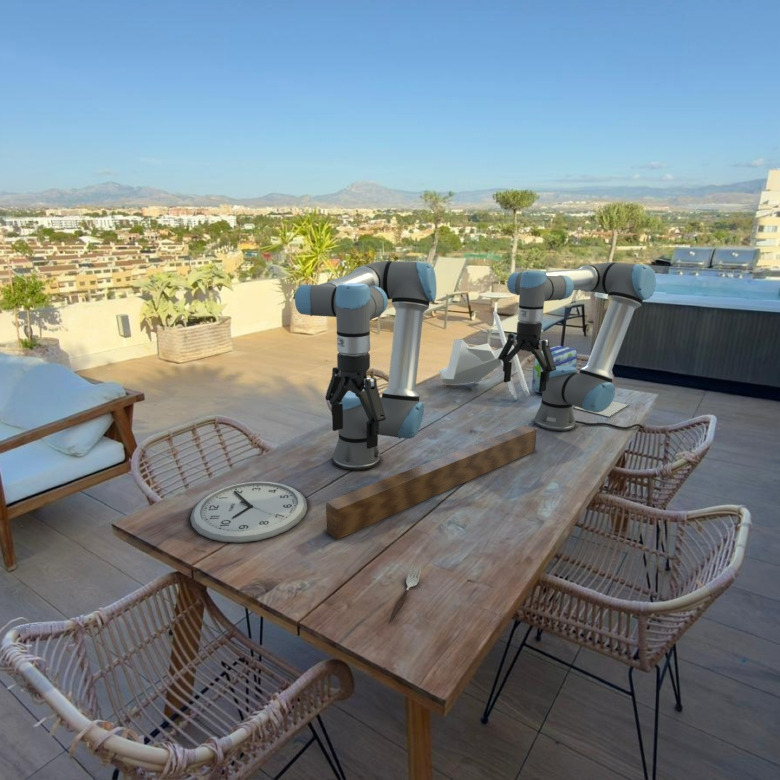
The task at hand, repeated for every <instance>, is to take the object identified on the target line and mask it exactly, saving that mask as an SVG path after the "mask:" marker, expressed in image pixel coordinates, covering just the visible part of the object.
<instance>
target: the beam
mask: <svg viewBox="0 0 780 780" xmlns="http://www.w3.org/2000/svg"><path fill="white" fill-rule="evenodd" d="M537 435H538V427H537V428H536V427H534V426H531V425H527V424H524V425H522V426H519V427H517V428H514V429H510V430H508V431H506V432H503V433H501V434H498V435H495V436H493V437H491V438H488V439H485V440H483V441H480V442H478V443H475V444H472V445H470V446H468V447H465V448H462V449H460V450H457V451H454V452H452V453H448V454H446V455H444V456H441V457H438V458H436V459H434V460H431V461H427V462H426V463H423V464H421V465H418V466H416V467H413V468H410V469H408V470H405V471H402V472H400V473H397V474H395V475H392V476H389V477H387V478H384V479H382V480H379V481H376V482H374V483H372V484H369V485H366V486H363V487H361V488H358V489H356V490H353V491H350V492H348V493H345V494H342V495H340V496H338V497H335V498H333V499H330V500H327V501H325V510H326V511H325V512H326V515H325V516H326V532H327V533H328V534H330V535H331V536H332V537H334V538H335V539H336V540H340V539H341V538H344V537H346V536H348V535H352V534H353V533H355V532H357V531H360V530H362V529H364V528H367V527H368V526H371V525H373V524H375V523H378V522H380V521H383V520H384V519H387V518H389V517H391V516H393V515H396V514H397V513H400V512H402V511H404V510H407V509H409V508H412V507H413V506H416V505H418V504H420V503H422V502H424V501H427V500H429V499H431V498H434V497H436V496H439V495H441V494H442V493H445V492H447V491H449V490H451V489H454V488H456V487H459V486H460V485H462V484H465V483H466V482H467V483H468V482H469V481H471V480H473V479H476V478H478V477H481V476H482V475H485V474H487V473H489V472H491V471H494V470H496V469H499V468H500V467H503V466H505V465H507V464H509V463H511V462H514V461H516V460H518V459H520V458H523V457H525V456H527V455H529V454H531V453H534V452H535V451H536V444H537Z"/></svg>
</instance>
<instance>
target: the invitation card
mask: <svg viewBox="0 0 780 780" xmlns="http://www.w3.org/2000/svg"><path fill="white" fill-rule="evenodd" d="M628 406H629V404H627V403H623V402H618V401H614V400H613V401H612V403H611V404H610V405H609V406H608V407H607V408H606V409H604V410H603V411H601V412H592V411H587V410H584V409H582V408H579V407H577V406H574V407H573V409H575V410H581V411H584V412H587V413H593V414H596V415H600V416H604V417H608V418H609V417H611V416H613V415H614V414H616V413H617V412H619V411H621V410H623V409H624V408H626V407H628Z"/></svg>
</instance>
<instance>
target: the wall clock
mask: <svg viewBox="0 0 780 780" xmlns="http://www.w3.org/2000/svg"><path fill="white" fill-rule="evenodd" d="M307 503H308V502H307V499H306V498H305V496H304V495H303V493H301V492H300V491H298V490H297V489H295V488H294V487H291V486H289V485H286V484H283V483H280V482H279V483H278V482H272V481H249V482H248V481H247V482H242V483H238V484H232V485H229V486H226V487H223V488H220V489H218V490H216V491H213V492H211V493H210V494H208V495H207V496H205V497H204V498H202V499H201V500H200V501H199V502H198V503H197V504H196V505H195V507H194V508H193V509H192V511H191V515H190V523H191V526H192V528H193V529H194V531H196V532H197V533H198V534H199V535H201V536H203V537H205V538H208V539H210V540H214V541H218V542H222V543H239V544H240V543H249V542H256V541H262V540H265V539H269V538H274V537H276V536H278V535H280V534H282V533H286V532H287V531H289V530H290V529H292V528H293V527H295V526H296V525H298V524H299V523H300V522H301V521H302V519H303V518H304V517H305V516H306V513H307V510H308V504H307Z"/></svg>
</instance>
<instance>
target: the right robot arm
mask: <svg viewBox="0 0 780 780" xmlns="http://www.w3.org/2000/svg"><path fill="white" fill-rule="evenodd" d="M507 278H508V279H507V281H506V283H507V284H506V287H507V291H508V292H509V293H510V294H513V295H516V296H519V299H518V312H517V320H518V321H517V323H516V333H517V334H516V333H515V332H513V333H508V334H507V339H506V340H507V342H506V344H505V346H504V348H503V347H502V348H503V350H502V351H501V353H500V355H499V357H498V358H499V360H502V361H503V367H502V372H503V373H504V374H503V383H507V382H509V381H511V378H512V368H513V367H512V366H513V362H512V361H511V360H513V359H512V358H513V357H514V356H515V355H516V354H517V355H518V354H519V352H520V351H525V352H529V353H530V352H531V354H532V355H534V358H535V357H536V359H537V361H538V363H539V364H540V366H541V368H542V370H543V371H542V372H541V374H540V385H539V392H542V393H541V402H540V405H539V407H538V410H537V411H536V413H535V416H534V424H535V425H536V426H537V427H539V428H542V429H544V430H549V431H556V432H567V431H572V430H574V429H575V428H576V424H580V425H585V426H608V427H612V428H616V429H619V430H629V429H632V428H635V427H639V428H641V429H644V428H645V427H644V426H643V424H640V423H634V424H632V425H627V426H621V425H620V426H619V425H616V424H612V423H608V422H585V421H580V420H576V418H575V417H576V416H575V413H574V407H576V406H577V407H579V408H582V409H584V410H587V411H586V412H588V411H592V412H601V411H603V410H604V409H606V408H607V407H608V406H609V405H610V404H611V403H612V401H614V398H615V396H616V387H615V385H614V384H613V382H614V378H613V375H612V371H613V368H614V365H615V363H616V360H617V357H618V355H619V352H620V350H621V347H622V344H623V341H624V339H625V336H626V334H627V331H628V328H629V326H630V323H631V321H632V317H633V315H634V311H635V310H636V309H639V308H640V307H642V304H643V301H646V300H649V299H651V297H652V296H653V295H654V293H655V290H656V285H657V277H656V273H655V271H654V269H653V268H652V267H651V266H649V265H646V264H640V263H629V262H628V263H627V262H626V263H625V262H615V261H608V262H602V263H601V262H600V263H594V264H586V265H582V266H580V267H579V268H571V269H569V268H568V269H560V270H559V269H558V270H546V271H544V270H525V271H514V272H513V273H511V274H510V275H509V276H508V277H507ZM574 291H581V292H584V293H589V292H590V293H591V292H592V293H598V294H603V295H607V301H608V302H609V304H608V307H607V309H606V312H605V315H604V318H603V320H602V322H601V326H600V328H599V331H598V333H597V336H596V339H595V342H594V344H593V347H592V350H591V352H590V354H589V355H590V356H589V358H588V360H587V363H586V365H585V366H583V367H581V368H580V369H579V372H578V369H577V367H576V368H575V367H570V366H555V363H554V360H553V356H552V353H551V350H550V348H551V347H550V339H541V335H542V327H543V323H542V322H543V320H544V306H545V302H549V301H561V300H566V299H568V298H570V297H571V296H572V295H573V292H574ZM515 341H516V344H515V345H514V343H515ZM512 345H513V346H514V348H513V349H512V351H511V352H510V353H509V354H508V352H509V351H510V349H511V347H512ZM541 351H543V354H544V356H543V354H542V352H541ZM507 354H508V355H507ZM544 357H545V358H544ZM573 406H574V407H573ZM584 410H583V411H584ZM592 412H591V413H592Z"/></svg>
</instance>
